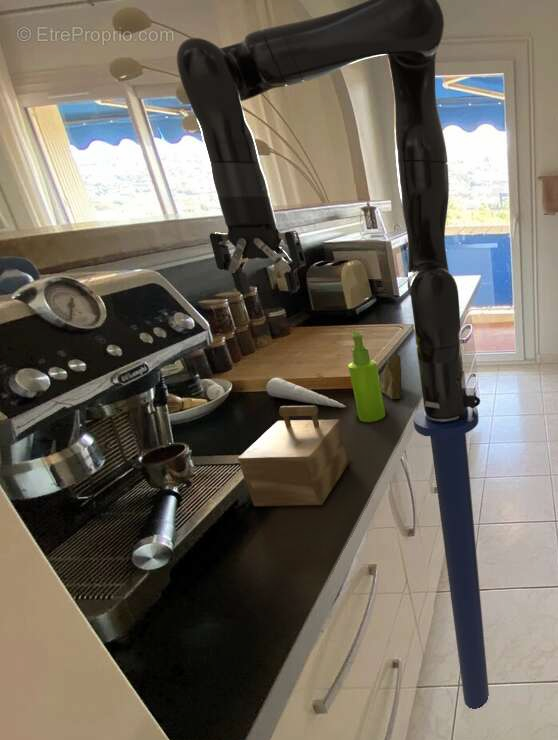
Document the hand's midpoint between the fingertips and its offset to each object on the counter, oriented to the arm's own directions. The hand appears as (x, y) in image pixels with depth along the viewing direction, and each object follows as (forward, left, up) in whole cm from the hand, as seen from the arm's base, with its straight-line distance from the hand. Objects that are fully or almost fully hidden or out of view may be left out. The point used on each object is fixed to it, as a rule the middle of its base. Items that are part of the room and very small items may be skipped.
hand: (269, 293), depth 80 cm
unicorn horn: (+10, -21, -32) cm, 39 cm away
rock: (-10, -25, -32) cm, 42 cm away
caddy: (-5, +15, -31) cm, 35 cm away
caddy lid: (-6, +14, -23) cm, 27 cm away
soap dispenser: (-9, -12, -32) cm, 35 cm away
